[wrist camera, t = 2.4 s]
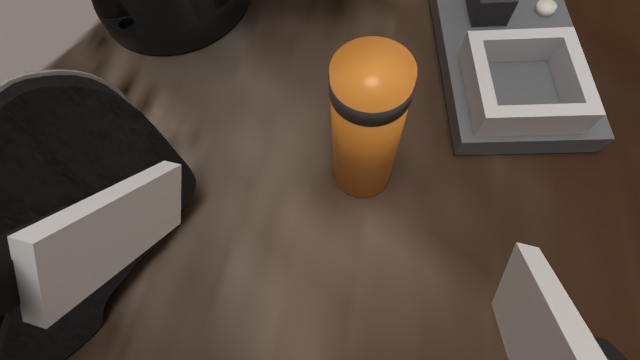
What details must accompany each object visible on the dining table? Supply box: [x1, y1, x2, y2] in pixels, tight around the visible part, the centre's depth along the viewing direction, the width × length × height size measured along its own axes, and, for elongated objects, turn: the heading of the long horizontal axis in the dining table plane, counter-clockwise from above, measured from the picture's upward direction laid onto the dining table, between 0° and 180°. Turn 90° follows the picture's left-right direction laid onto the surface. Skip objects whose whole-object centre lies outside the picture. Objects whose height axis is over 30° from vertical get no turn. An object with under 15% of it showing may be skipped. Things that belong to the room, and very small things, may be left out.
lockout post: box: [329, 36, 417, 198], centre depth 24 cm, size 4×4×12 cm
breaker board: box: [429, 0, 615, 155], centre depth 33 cm, size 26×11×6 cm, turn 0°
